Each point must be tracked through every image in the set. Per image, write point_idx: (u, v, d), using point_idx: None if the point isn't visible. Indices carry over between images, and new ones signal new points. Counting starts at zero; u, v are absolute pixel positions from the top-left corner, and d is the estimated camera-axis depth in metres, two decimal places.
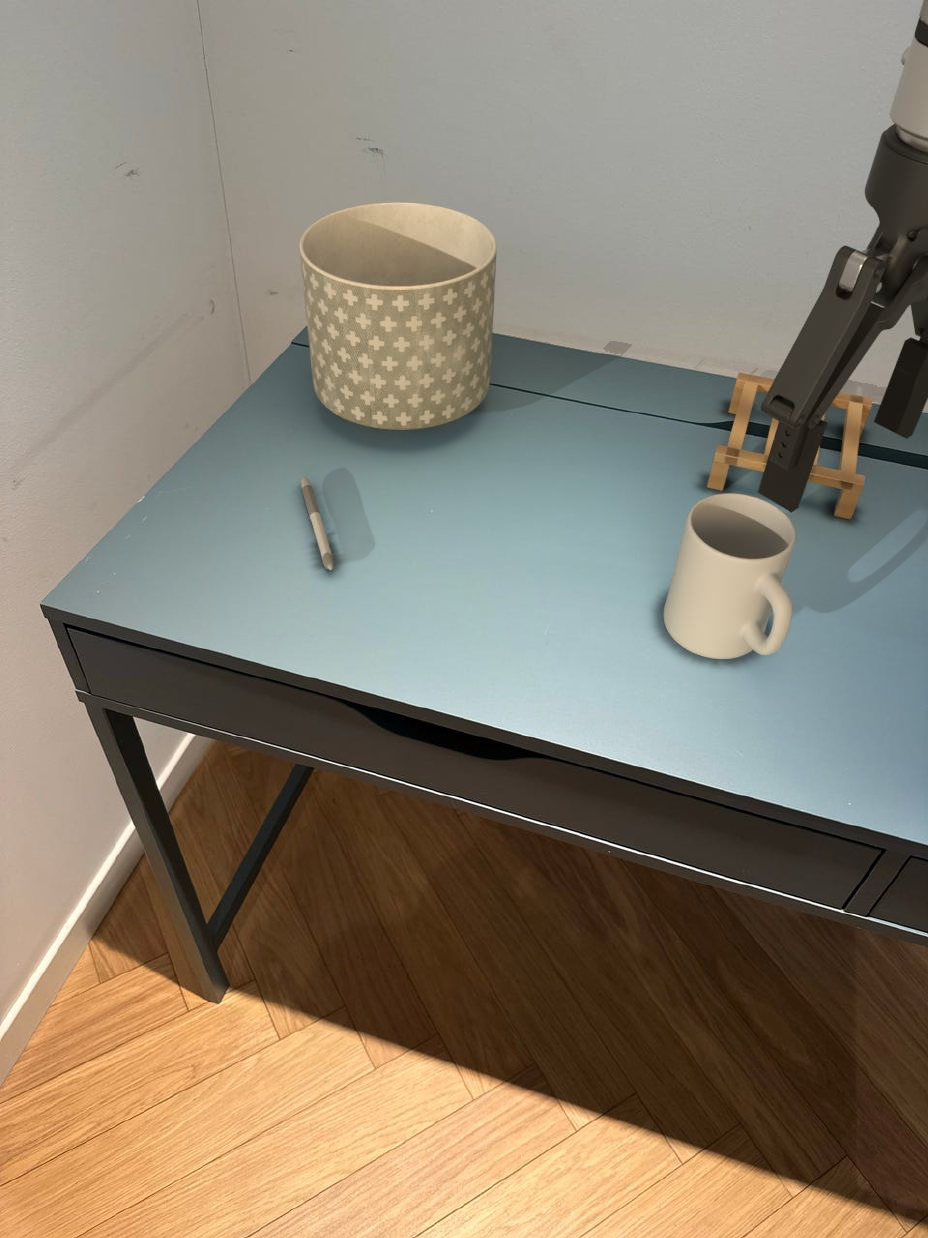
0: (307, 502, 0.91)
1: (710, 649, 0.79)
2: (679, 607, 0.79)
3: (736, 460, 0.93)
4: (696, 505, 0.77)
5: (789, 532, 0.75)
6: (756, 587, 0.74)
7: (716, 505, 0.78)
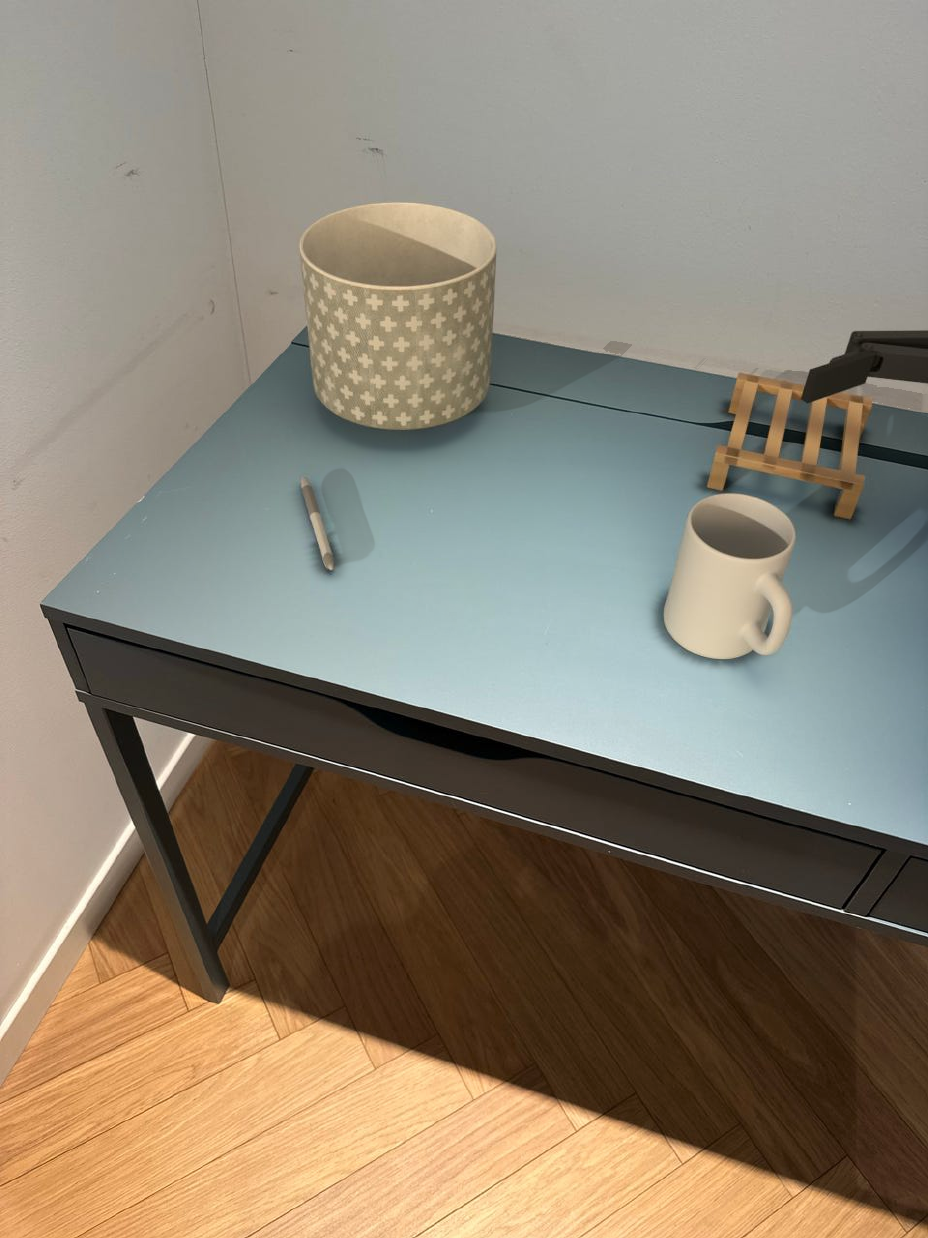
0: (306, 502, 0.91)
1: (710, 649, 0.79)
2: (679, 607, 0.79)
3: (736, 460, 0.93)
4: (696, 505, 0.77)
5: (789, 532, 0.75)
6: (756, 587, 0.74)
7: (716, 505, 0.78)
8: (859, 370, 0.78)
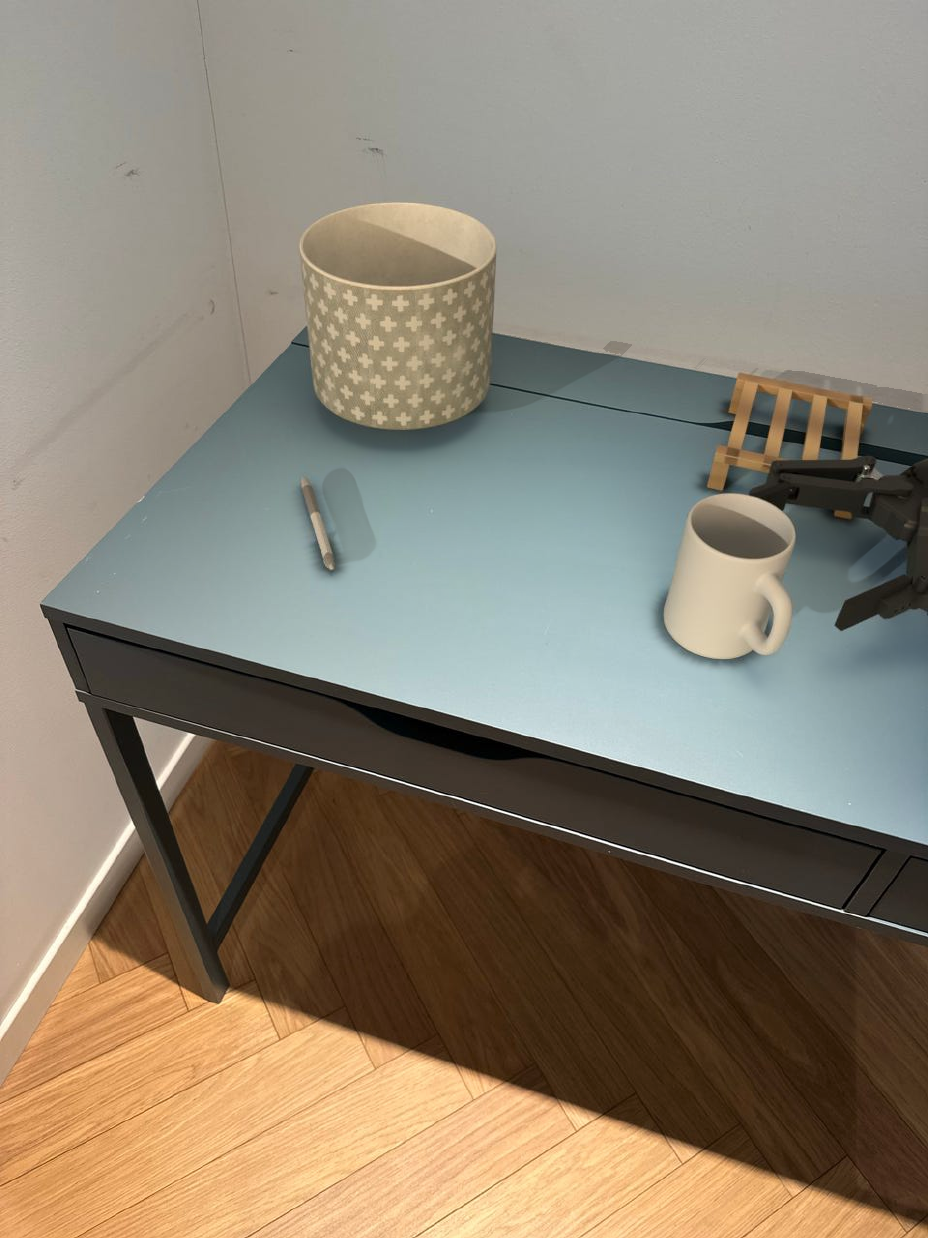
0: (307, 502, 0.91)
1: (710, 649, 0.79)
2: (679, 607, 0.79)
3: (736, 460, 0.93)
4: (696, 505, 0.77)
5: (789, 532, 0.75)
6: (756, 587, 0.74)
7: (716, 505, 0.78)
8: (776, 500, 0.84)
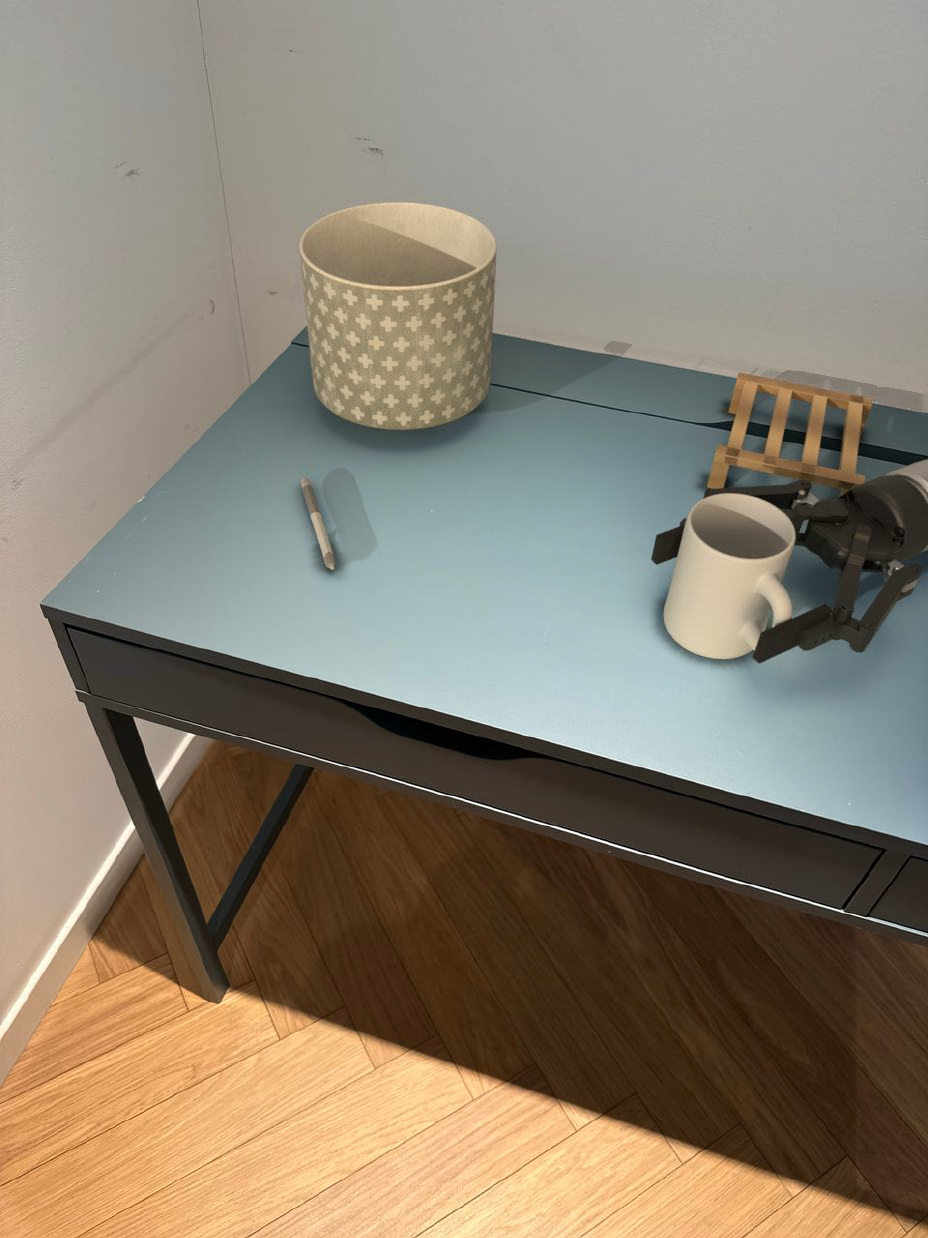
0: (307, 502, 0.91)
1: (710, 649, 0.79)
2: (679, 607, 0.79)
3: (736, 460, 0.93)
4: (696, 505, 0.77)
5: (789, 532, 0.75)
6: (756, 587, 0.74)
7: (715, 505, 0.78)
8: None
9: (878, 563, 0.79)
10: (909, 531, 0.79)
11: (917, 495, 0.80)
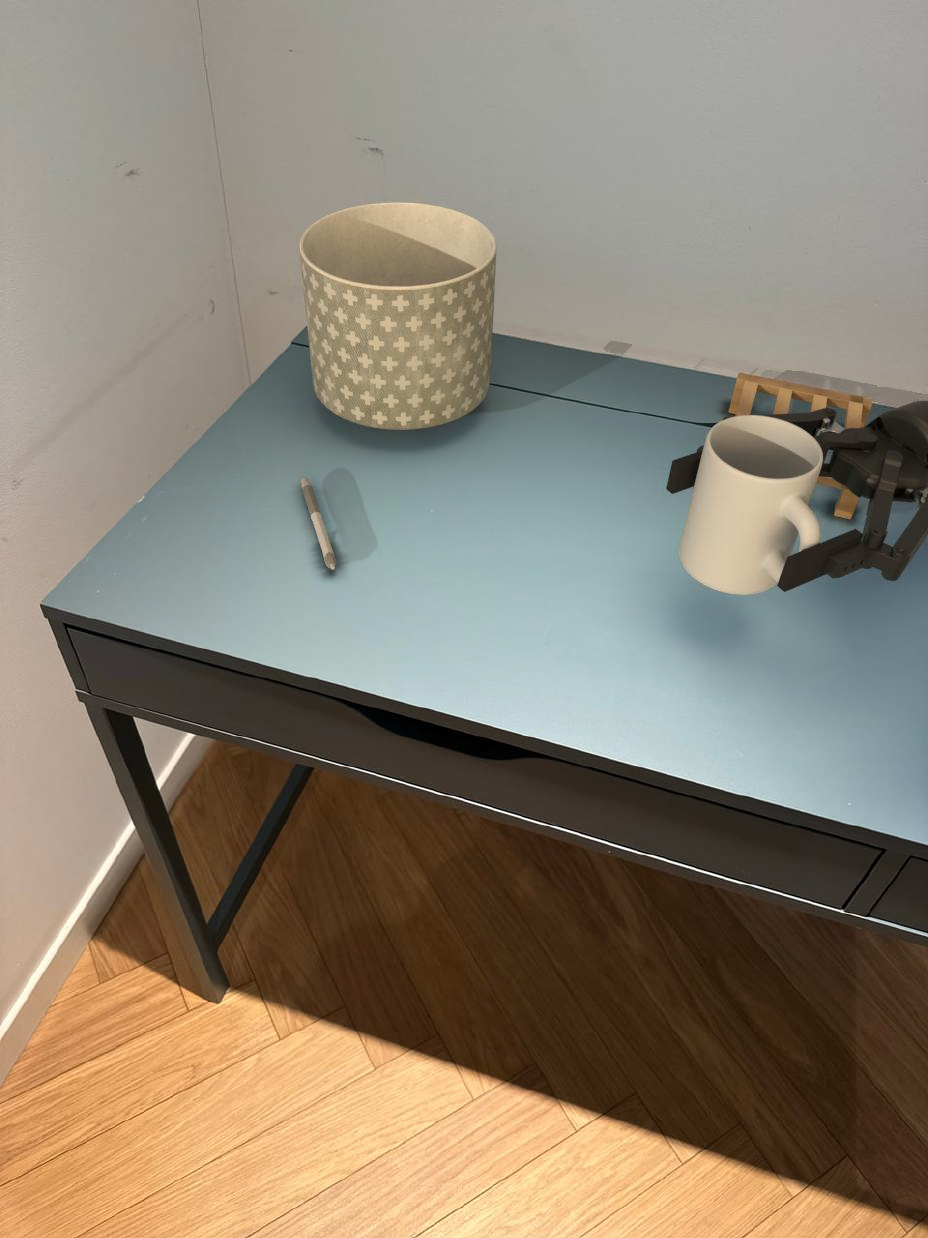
0: (307, 502, 0.91)
1: (730, 583, 0.74)
2: (696, 538, 0.73)
3: None
4: (715, 426, 0.71)
5: (816, 454, 0.70)
6: (781, 511, 0.68)
7: (736, 428, 0.73)
8: None
9: (910, 491, 0.74)
10: None
11: None
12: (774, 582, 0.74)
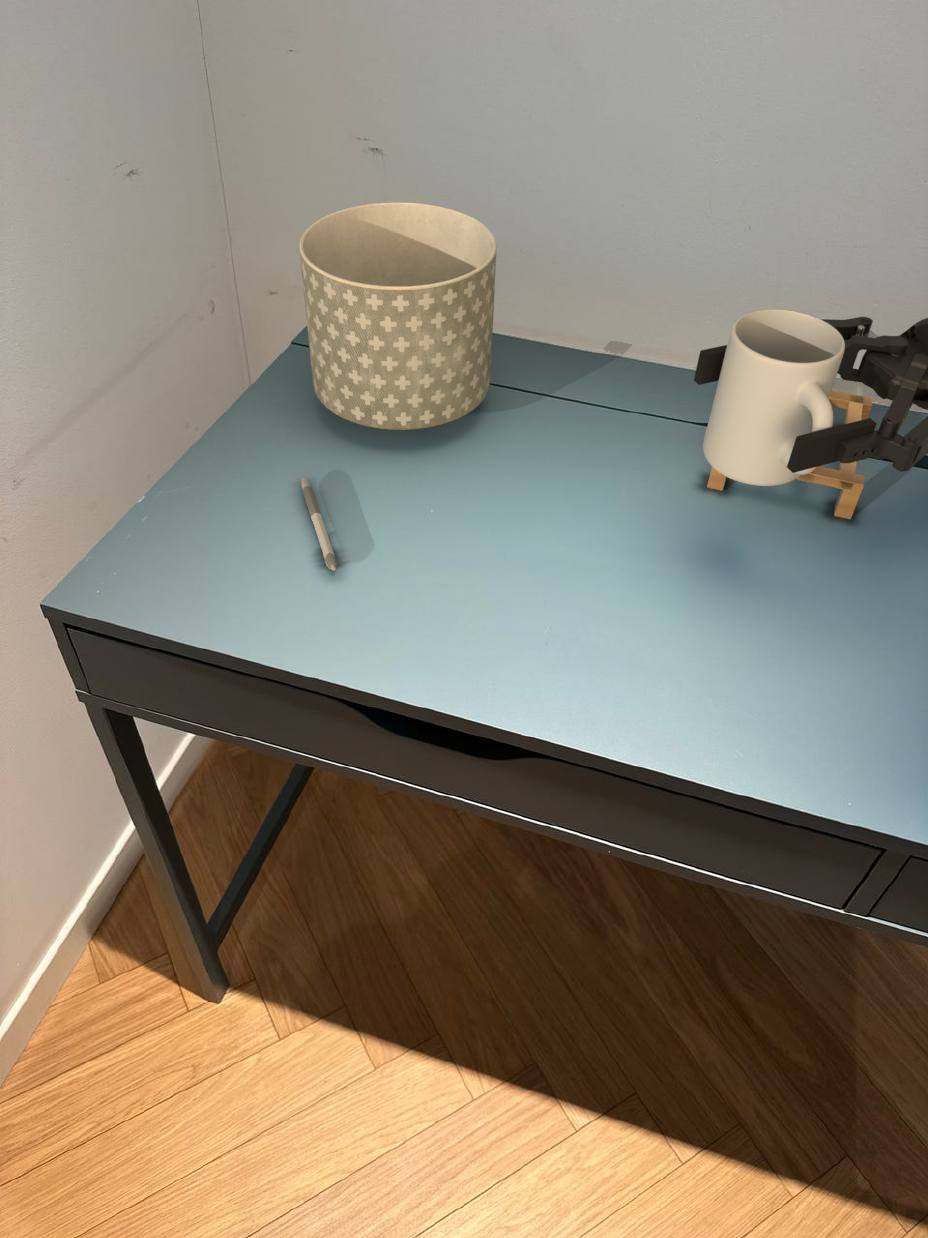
0: (307, 503, 0.91)
1: (747, 472, 0.76)
2: (718, 426, 0.76)
3: None
4: (743, 316, 0.74)
5: (838, 346, 0.72)
6: (797, 396, 0.71)
7: (765, 322, 0.75)
8: None
9: None
10: None
11: None
12: (791, 476, 0.77)
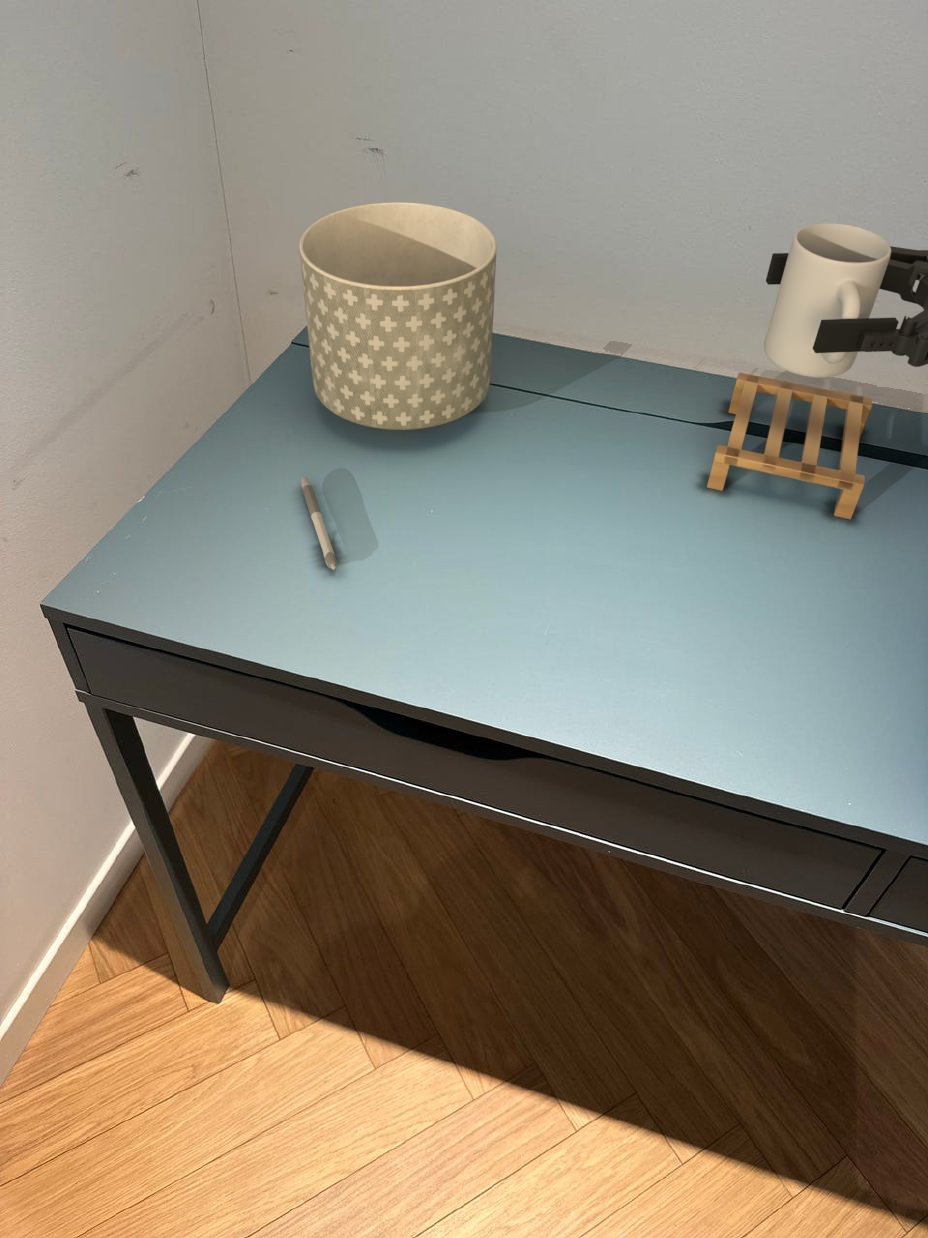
0: (307, 502, 0.91)
1: (791, 361, 0.89)
2: (774, 318, 0.89)
3: (736, 460, 0.93)
4: (811, 225, 0.87)
5: None
6: (836, 292, 0.83)
7: (832, 234, 0.88)
8: None
9: None
10: None
11: None
12: (831, 370, 0.89)
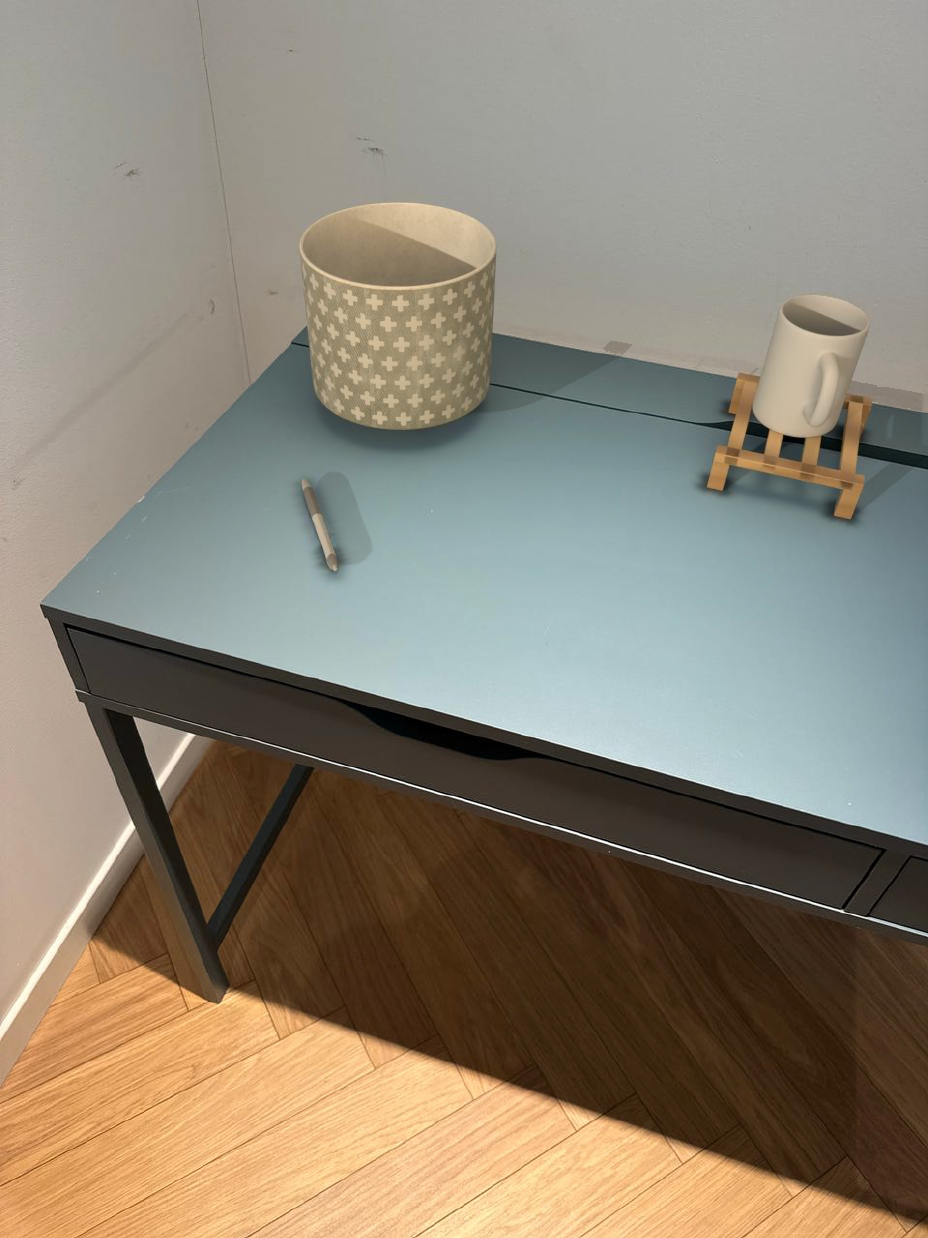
0: (308, 503, 0.91)
1: (776, 422, 0.95)
2: (761, 382, 0.96)
3: (736, 460, 0.93)
4: (796, 297, 0.93)
5: None
6: (817, 362, 0.89)
7: (817, 305, 0.94)
8: None
9: None
10: None
11: None
12: (814, 431, 0.95)
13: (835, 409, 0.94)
